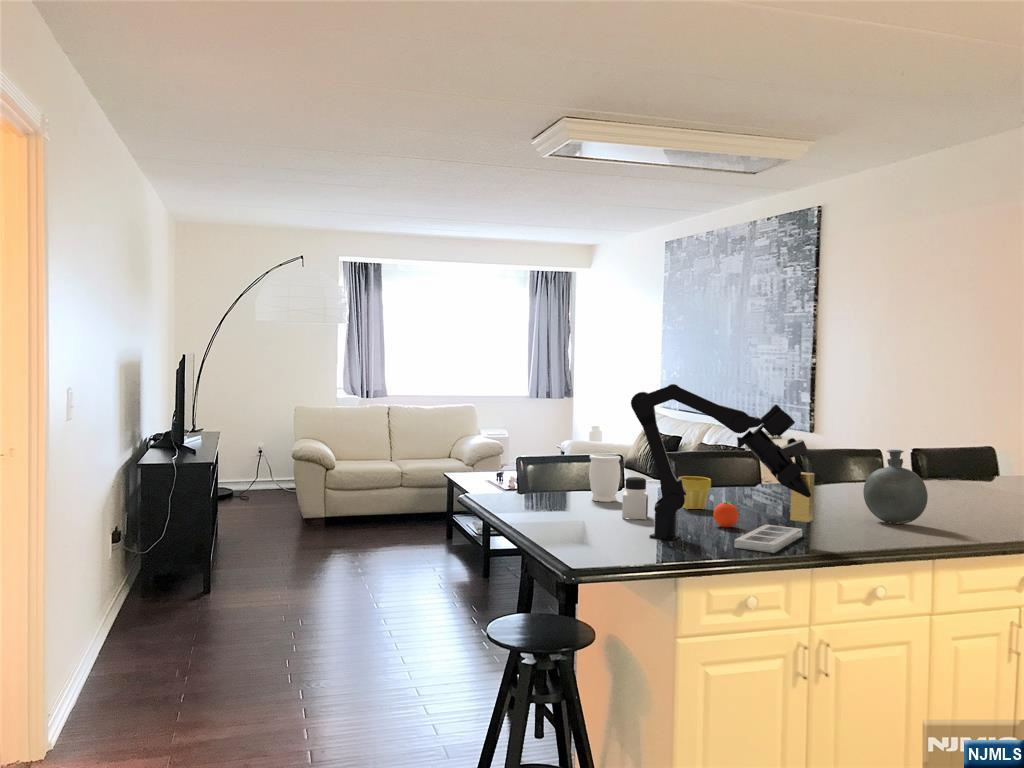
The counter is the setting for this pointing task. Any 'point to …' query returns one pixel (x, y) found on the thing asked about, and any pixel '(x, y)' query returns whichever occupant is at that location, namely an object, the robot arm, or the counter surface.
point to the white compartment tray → (768, 538)
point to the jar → (604, 477)
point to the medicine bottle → (635, 499)
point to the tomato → (726, 514)
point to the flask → (895, 492)
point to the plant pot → (695, 491)
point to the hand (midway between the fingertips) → (808, 494)
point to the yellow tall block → (803, 500)
